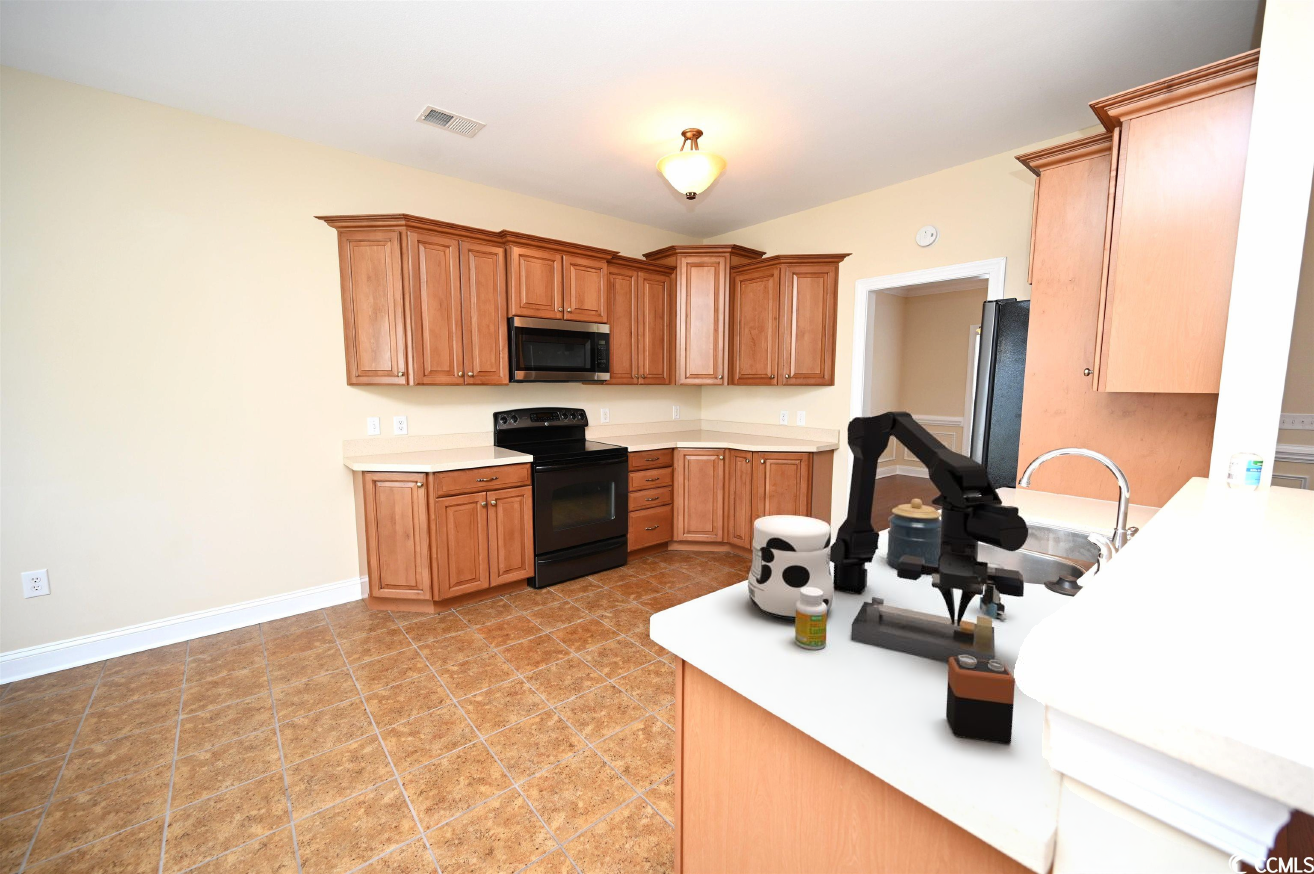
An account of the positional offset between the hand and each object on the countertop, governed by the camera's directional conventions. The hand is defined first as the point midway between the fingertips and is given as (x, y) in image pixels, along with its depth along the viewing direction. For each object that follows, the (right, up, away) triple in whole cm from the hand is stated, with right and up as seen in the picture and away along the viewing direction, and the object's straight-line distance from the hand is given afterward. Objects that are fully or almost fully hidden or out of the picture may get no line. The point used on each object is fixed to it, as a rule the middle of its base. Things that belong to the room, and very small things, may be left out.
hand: (955, 622), depth 93 cm
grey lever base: (-4, -5, +3) cm, 7 cm away
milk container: (-25, -4, +18) cm, 31 cm away
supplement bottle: (-25, -5, +3) cm, 25 cm away
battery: (-9, -7, -22) cm, 25 cm away
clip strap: (-5, -1, +3) cm, 6 cm away
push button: (+15, -4, +14) cm, 21 cm away
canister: (+14, -1, +44) cm, 46 cm away
